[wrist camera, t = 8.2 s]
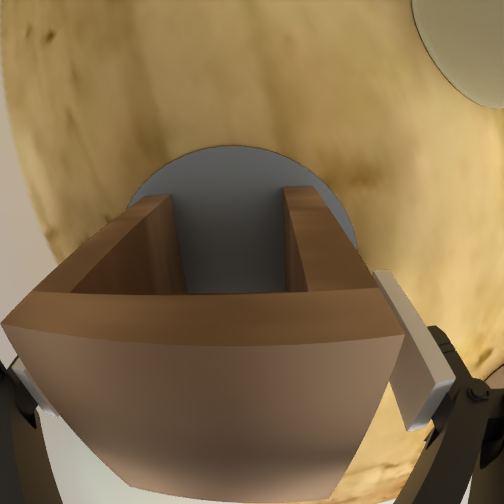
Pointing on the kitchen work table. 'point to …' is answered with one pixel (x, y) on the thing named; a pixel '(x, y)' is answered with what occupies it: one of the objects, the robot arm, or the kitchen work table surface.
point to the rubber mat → (234, 215)
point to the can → (466, 45)
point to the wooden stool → (213, 358)
